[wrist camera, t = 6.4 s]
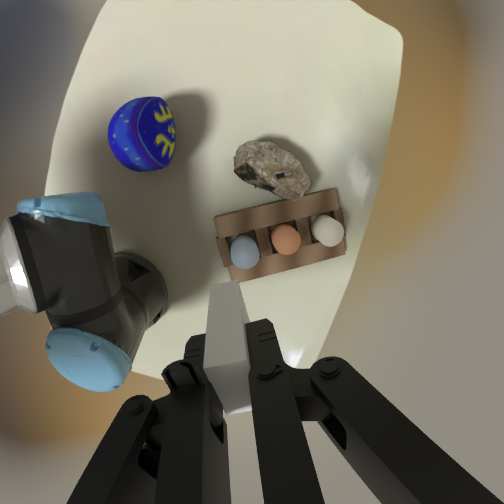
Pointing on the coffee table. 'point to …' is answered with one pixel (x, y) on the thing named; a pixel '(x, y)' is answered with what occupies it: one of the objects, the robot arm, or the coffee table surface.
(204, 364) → the robot arm
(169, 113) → the ornament
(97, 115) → the coffee table surface
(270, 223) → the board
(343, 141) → the coffee table surface
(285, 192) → the stone
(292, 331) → the coffee table surface
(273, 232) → the button terracotta
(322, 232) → the button cream
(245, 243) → the button slate
